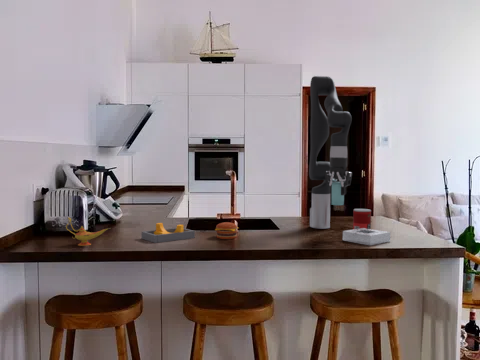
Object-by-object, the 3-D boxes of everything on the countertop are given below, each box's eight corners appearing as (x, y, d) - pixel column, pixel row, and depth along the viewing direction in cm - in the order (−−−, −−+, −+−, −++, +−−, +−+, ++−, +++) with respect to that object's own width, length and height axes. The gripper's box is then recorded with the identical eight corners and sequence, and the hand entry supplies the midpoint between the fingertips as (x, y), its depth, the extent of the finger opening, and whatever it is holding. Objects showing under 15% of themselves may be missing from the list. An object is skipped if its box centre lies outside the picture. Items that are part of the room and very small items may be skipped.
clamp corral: (141, 238, 194) (141, 231, 194) (180, 233, 207) (180, 227, 206) (155, 242, 185) (155, 235, 185) (194, 237, 197) (194, 230, 197)
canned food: (371, 234, 208) (371, 210, 208) (353, 233, 210) (353, 210, 209) (369, 231, 216) (370, 208, 215) (352, 231, 217) (353, 208, 217)
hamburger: (218, 235, 205) (218, 220, 204) (239, 236, 203) (239, 221, 202) (213, 238, 195) (213, 223, 195) (234, 239, 194) (235, 224, 193)
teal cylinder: (328, 204, 201) (329, 182, 201) (336, 203, 205) (337, 181, 204) (338, 205, 197) (338, 182, 197) (346, 204, 201) (346, 182, 200)
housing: (342, 240, 193) (342, 231, 193) (362, 236, 202) (362, 227, 202) (370, 245, 182) (370, 235, 182) (390, 241, 191) (390, 232, 191)
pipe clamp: (154, 239, 195) (153, 224, 195) (158, 237, 199) (158, 222, 199) (179, 241, 191) (178, 226, 191) (183, 239, 195) (183, 224, 195)
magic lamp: (107, 246, 177) (107, 218, 176) (62, 246, 177) (62, 218, 177) (113, 243, 184) (113, 216, 183) (69, 242, 184) (69, 215, 184)
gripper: (320, 156, 203) (319, 194, 204) (346, 156, 192) (345, 196, 193) (331, 156, 208) (330, 193, 209) (357, 156, 197) (356, 195, 197)
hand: (337, 194), depth 201 cm, fingers closed on teal cylinder, 5 cm apart
